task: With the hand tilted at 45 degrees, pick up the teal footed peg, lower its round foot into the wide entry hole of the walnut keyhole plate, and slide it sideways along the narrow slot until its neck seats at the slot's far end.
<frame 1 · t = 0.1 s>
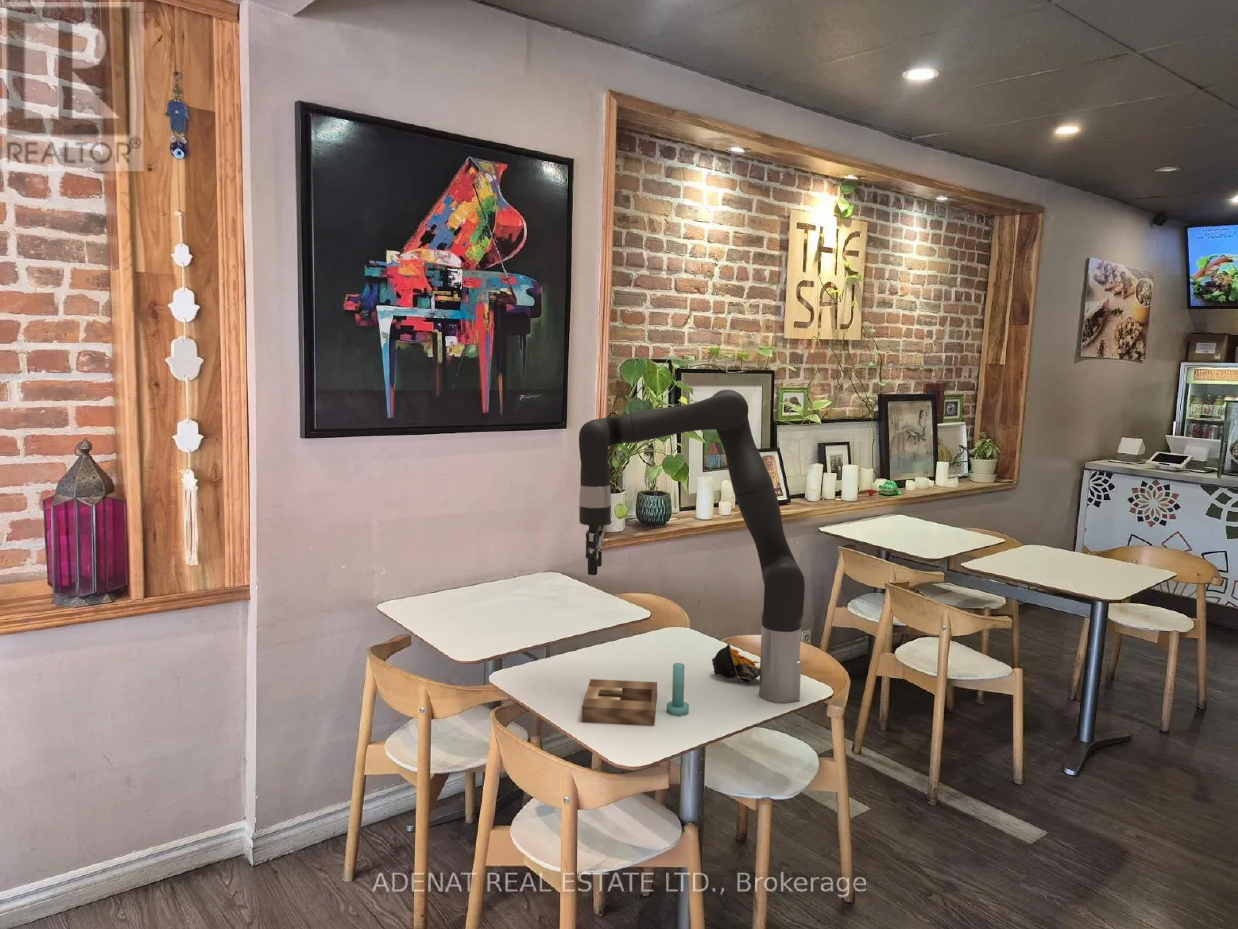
hand: (594, 570, 197), 29 cm above the table, tool pointing down, fingers open, 8 cm apart
black fries container: (747, 680, 207), on the table
peg: (677, 711, 187), on the table
keyhole plate: (620, 708, 188), on the table
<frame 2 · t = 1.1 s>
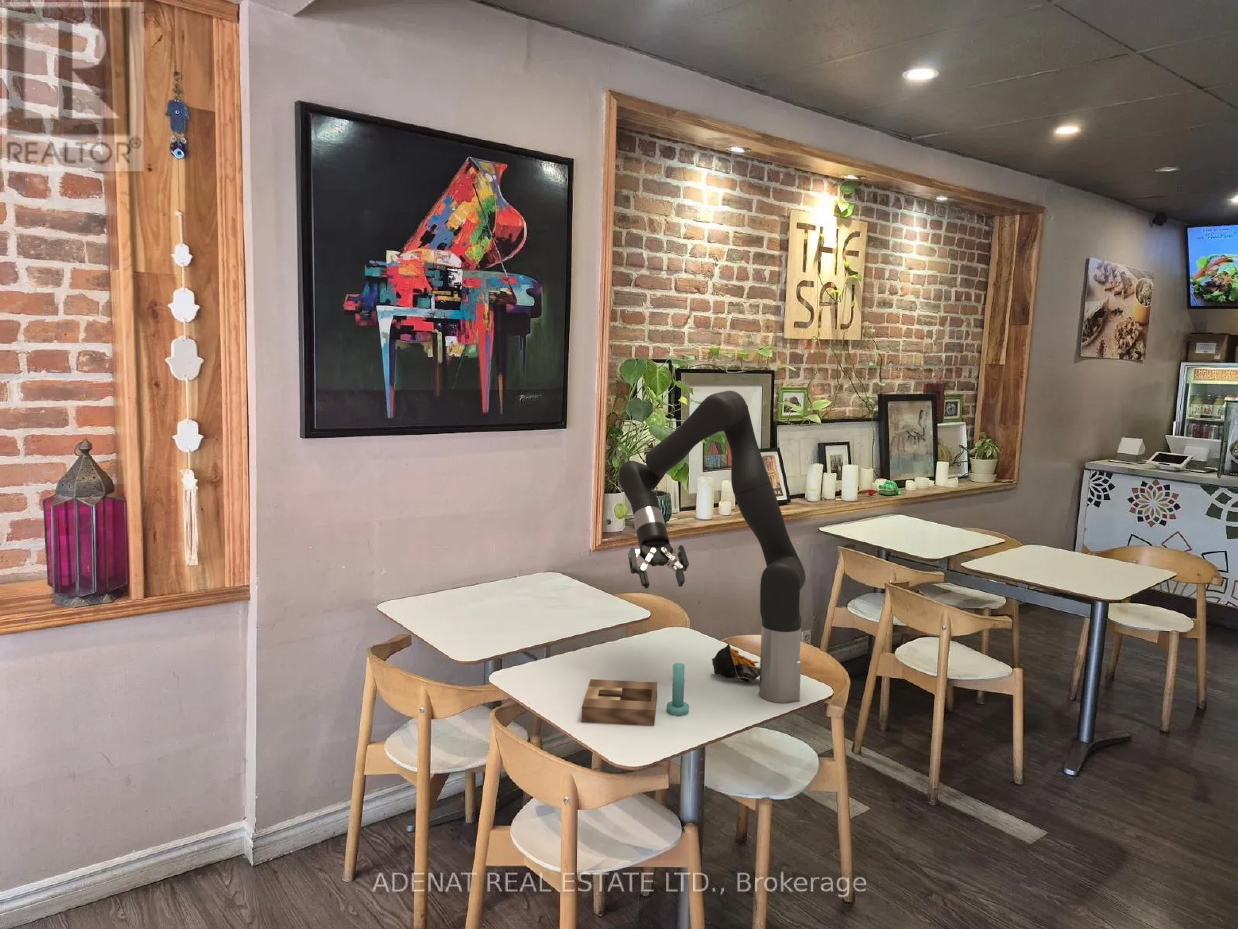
hand: (664, 586, 195), 26 cm above the table, tool tilted 45°, fingers open, 8 cm apart
nothing on the table moved.
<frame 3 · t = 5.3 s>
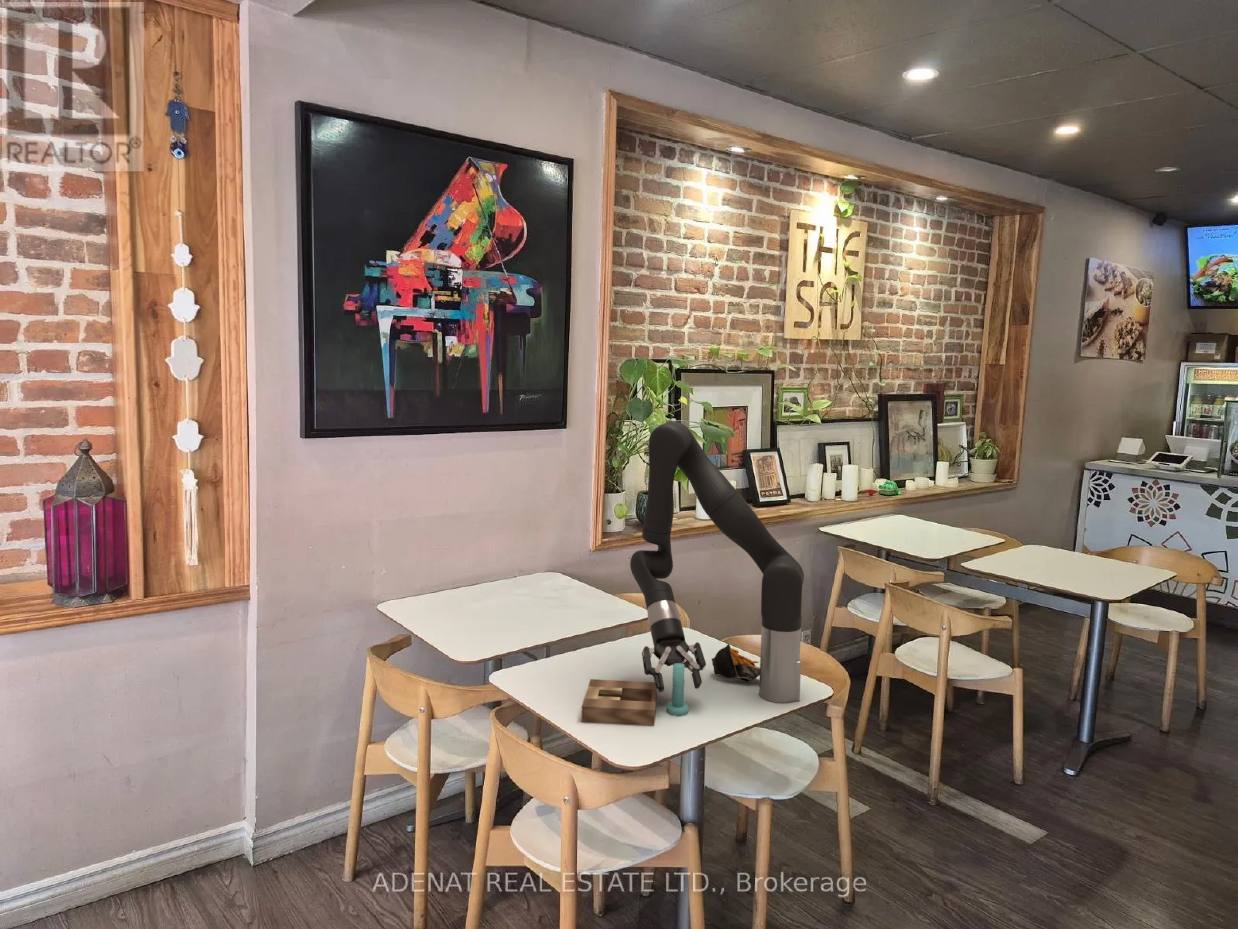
hand: (680, 689, 185), 6 cm above the table, tool tilted 45°, fingers open, 8 cm apart
nothing on the table moved.
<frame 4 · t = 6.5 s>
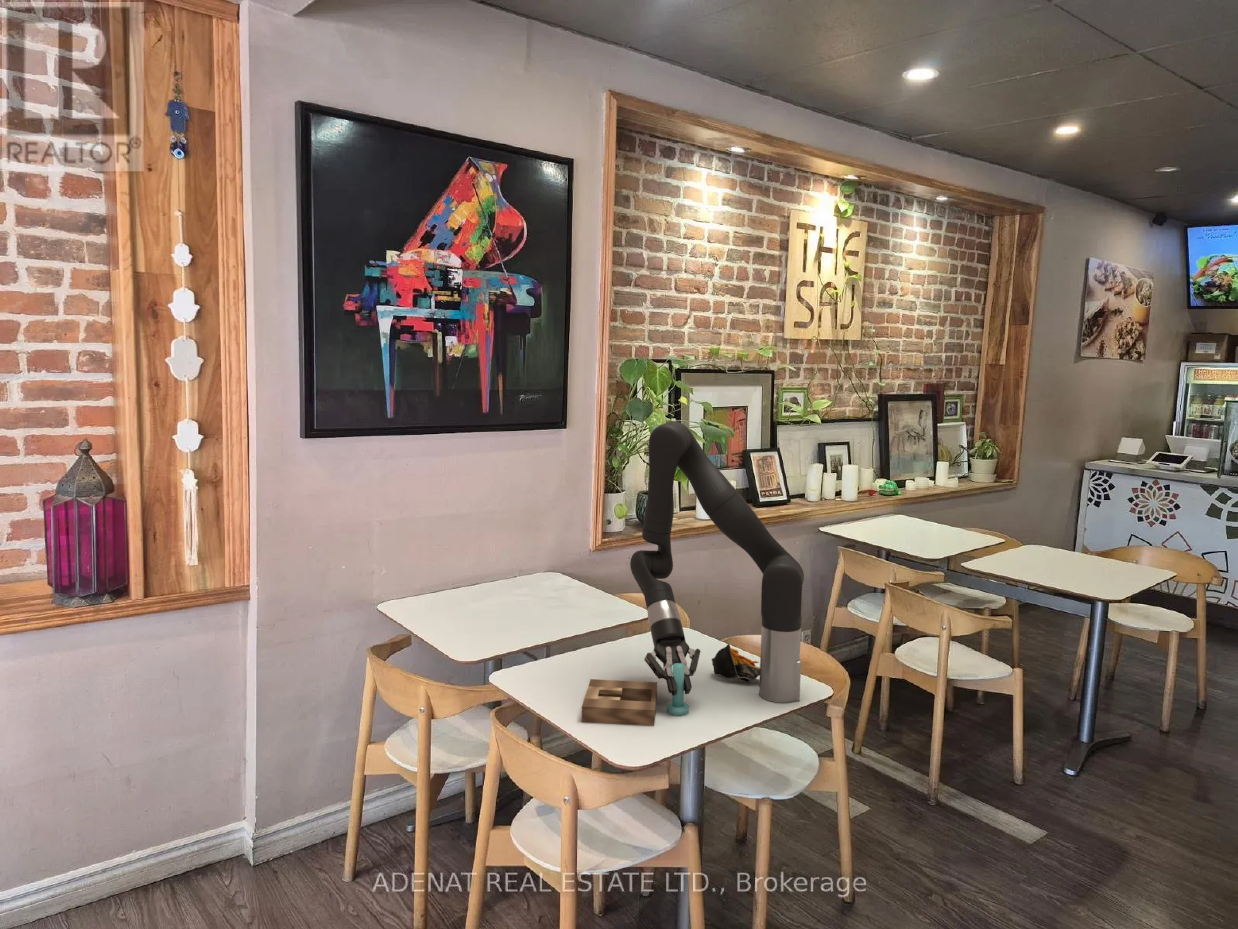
hand: (681, 693, 184), 5 cm above the table, tool tilted 45°, fingers closed on peg, 2 cm apart
peg: (677, 711, 187), on the table, touching gripper
everything else where it was.
when the fingers open (5 cm above the table, at t = 15.5 s): peg stays where it is, resting in keyhole plate.
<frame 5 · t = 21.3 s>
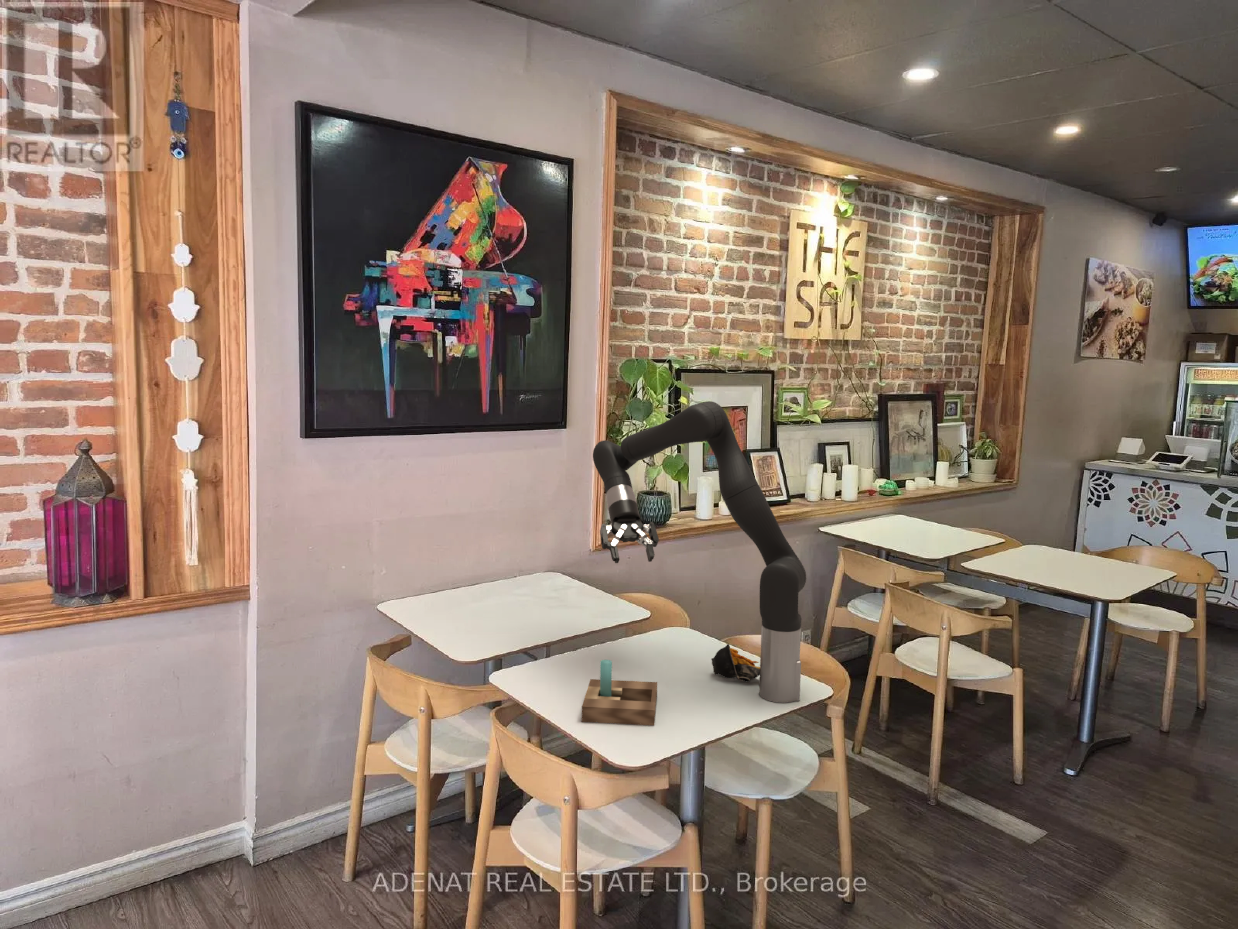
hand: (634, 560, 201), 31 cm above the table, tool tilted 45°, fingers open, 8 cm apart
peg: (605, 707, 188), resting in keyhole plate
everything else where it was.
at the end: peg 0.1 cm from the target spot on the keyhole plate, point 0.0 cm above the keyhole plate's base; peg tilted 0°; the gripper is holding nothing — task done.
